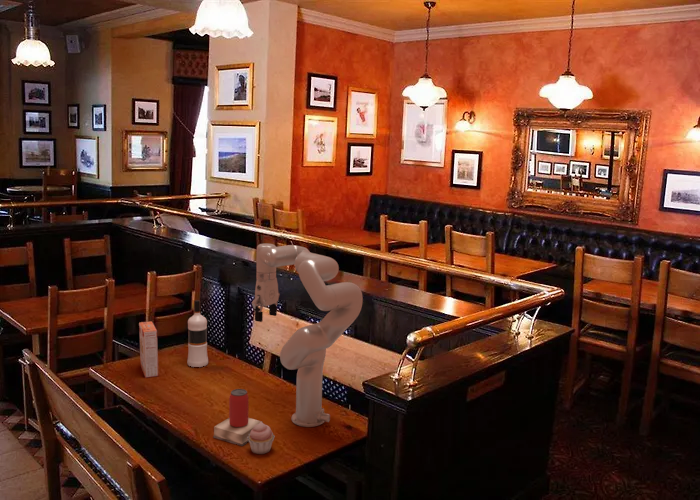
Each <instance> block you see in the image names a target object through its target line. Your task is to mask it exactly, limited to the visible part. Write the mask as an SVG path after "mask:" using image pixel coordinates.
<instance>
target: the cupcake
mask: <svg viewBox="0 0 700 500" xmlns="http://www.w3.org/2000/svg"><path fill="white" fill-rule="evenodd" d="M247 439H248V440H249V442H248V443H249V446H250V449H251V452H252V453H253V454H257V455H264V454H268V453H269V452H270V451H271V448H272V445H273V442H274V439H275V435H274V433H273V431H272V429H271V427H270V426H269V425H267V424H265V423H263V421H262V422H260V423H259V424H257V425H255V426H254V427H253V429H252V430H251V432H250V434H249V436H248V437H247Z"/></svg>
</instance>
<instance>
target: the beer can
mask: <svg viewBox="0 0 700 500" xmlns="http://www.w3.org/2000/svg"><path fill="white" fill-rule="evenodd" d="M228 400H229V402H228V403H229V404H228V405H229V408H228V409H229V413H228V414H229V417H228V418H229V423H230V425H231V426H233V427H244V426H246V425H247V424H248V418H249V395H248V391H247V390H246V389H244V388H243V389H242V388H235V389H233V390H231V391H230V395H229V399H228Z"/></svg>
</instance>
